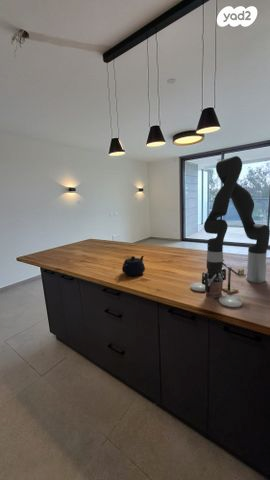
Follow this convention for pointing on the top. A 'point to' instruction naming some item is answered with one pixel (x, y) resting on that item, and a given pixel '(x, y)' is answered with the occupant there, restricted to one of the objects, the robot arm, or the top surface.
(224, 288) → the balance
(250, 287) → the top surface
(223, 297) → the dish low side
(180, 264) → the top surface
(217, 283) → the lighter
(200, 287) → the dish high side
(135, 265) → the teapot
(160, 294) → the top surface
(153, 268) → the top surface
